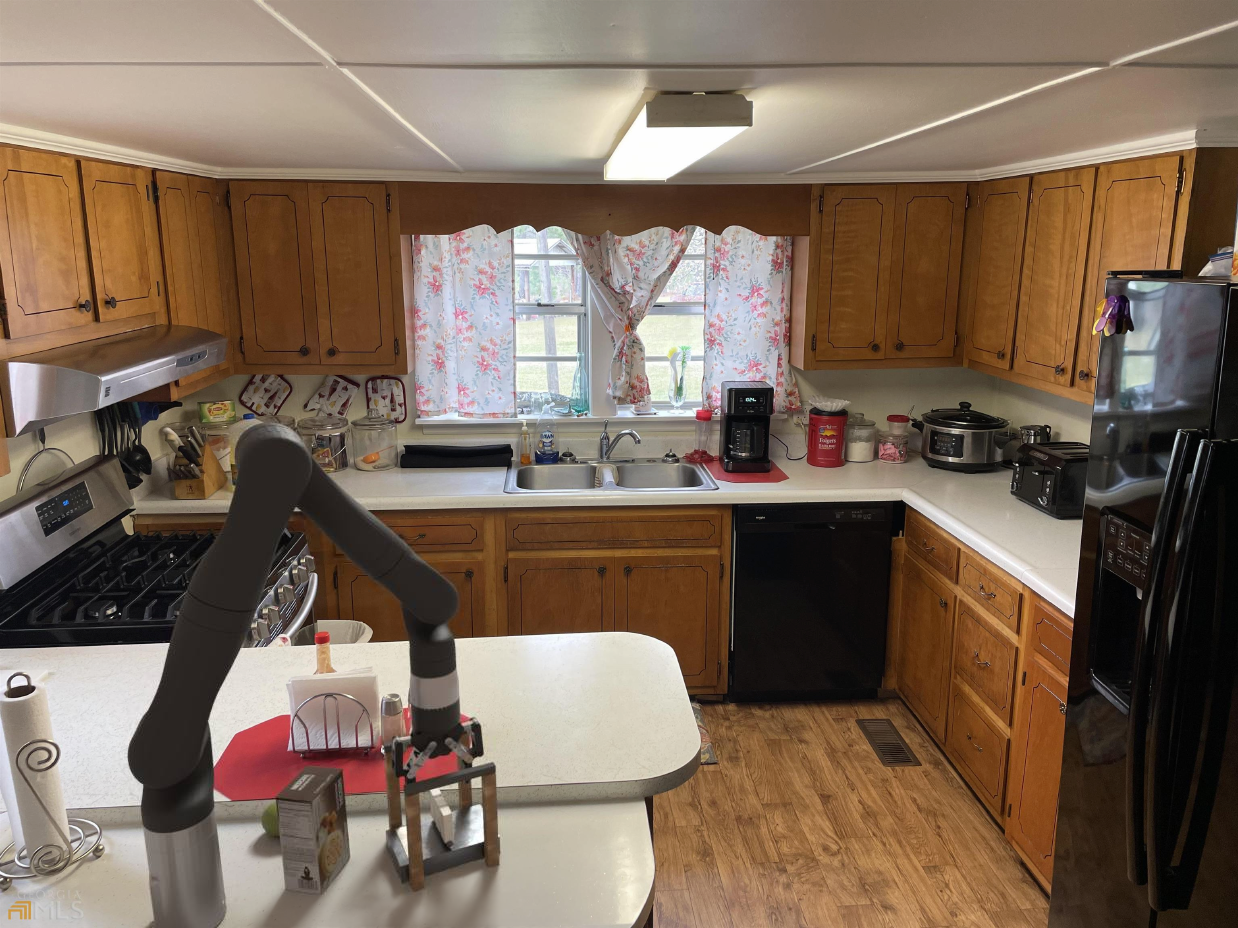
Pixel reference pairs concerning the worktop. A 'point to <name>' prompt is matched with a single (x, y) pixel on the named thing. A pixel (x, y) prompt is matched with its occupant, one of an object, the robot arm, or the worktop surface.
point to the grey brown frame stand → (464, 802)
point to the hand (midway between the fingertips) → (439, 788)
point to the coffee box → (313, 829)
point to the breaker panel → (441, 843)
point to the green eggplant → (271, 820)
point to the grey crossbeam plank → (449, 779)
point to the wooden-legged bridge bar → (388, 745)
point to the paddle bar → (442, 816)
